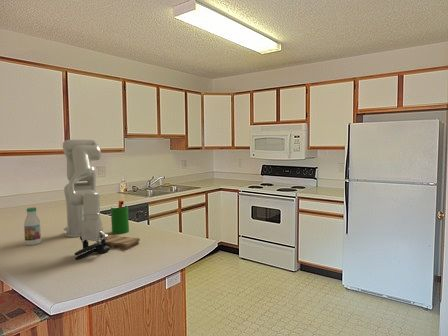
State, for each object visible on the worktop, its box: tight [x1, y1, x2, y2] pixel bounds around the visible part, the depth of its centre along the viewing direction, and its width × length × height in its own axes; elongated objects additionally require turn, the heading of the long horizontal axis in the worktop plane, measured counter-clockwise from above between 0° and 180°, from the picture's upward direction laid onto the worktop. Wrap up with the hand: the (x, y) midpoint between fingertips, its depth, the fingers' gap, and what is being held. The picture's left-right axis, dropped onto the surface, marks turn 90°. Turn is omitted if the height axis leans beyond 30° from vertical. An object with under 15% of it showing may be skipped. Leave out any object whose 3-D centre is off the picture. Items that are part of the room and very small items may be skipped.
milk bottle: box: [23, 206, 42, 246], centre depth 181 cm, size 8×8×20 cm
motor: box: [110, 200, 130, 235], centre depth 203 cm, size 10×9×20 cm
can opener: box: [74, 241, 111, 260], centre depth 161 cm, size 18×7×6 cm, turn 143°
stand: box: [95, 234, 141, 251], centre depth 177 cm, size 20×11×3 cm, turn 69°
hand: (93, 250), depth 162 cm, fingers open, 9 cm apart
